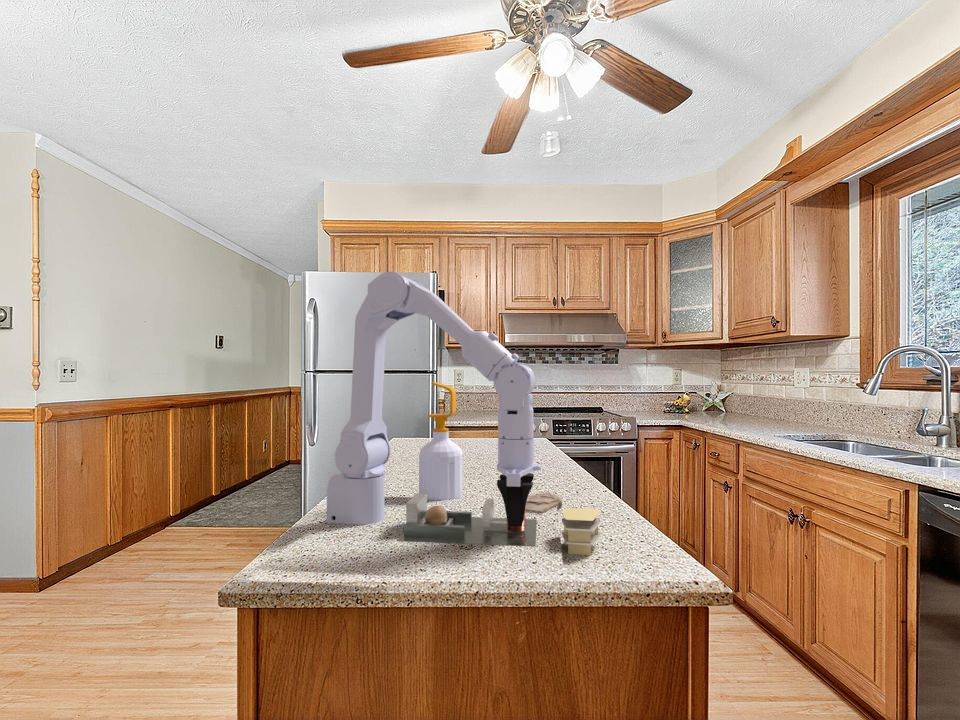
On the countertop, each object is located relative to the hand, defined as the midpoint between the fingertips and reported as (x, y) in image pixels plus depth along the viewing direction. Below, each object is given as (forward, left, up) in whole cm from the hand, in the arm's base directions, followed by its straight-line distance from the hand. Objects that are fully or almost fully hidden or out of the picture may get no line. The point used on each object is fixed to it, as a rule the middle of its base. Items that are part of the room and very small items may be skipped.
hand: (515, 522), depth 85 cm
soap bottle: (-17, +23, -3) cm, 29 cm away
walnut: (-13, 0, -1) cm, 13 cm away
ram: (-2, 0, -1) cm, 2 cm away
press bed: (-7, 0, -3) cm, 8 cm away
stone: (+2, +17, -3) cm, 17 cm away
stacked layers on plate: (+10, -3, -3) cm, 11 cm away
